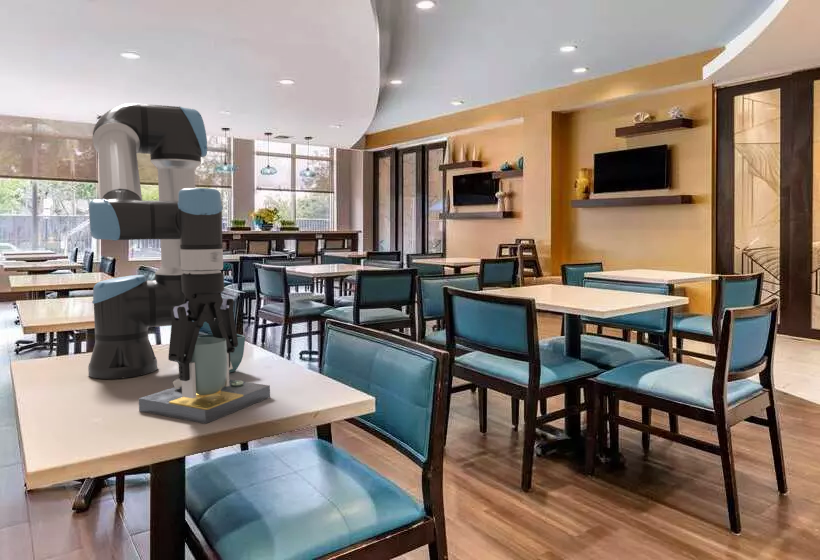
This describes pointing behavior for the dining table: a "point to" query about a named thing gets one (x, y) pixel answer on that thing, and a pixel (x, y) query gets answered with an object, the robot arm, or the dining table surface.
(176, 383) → the rocker
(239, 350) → the flower pot
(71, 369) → the dining table surface
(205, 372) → the cup
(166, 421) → the dining table surface
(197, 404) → the panel
